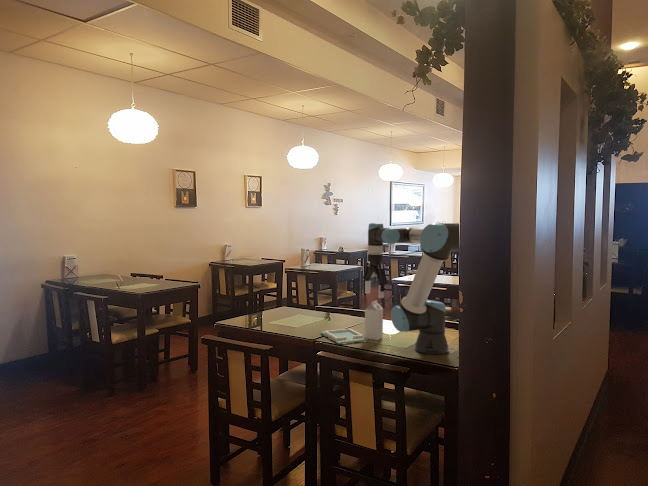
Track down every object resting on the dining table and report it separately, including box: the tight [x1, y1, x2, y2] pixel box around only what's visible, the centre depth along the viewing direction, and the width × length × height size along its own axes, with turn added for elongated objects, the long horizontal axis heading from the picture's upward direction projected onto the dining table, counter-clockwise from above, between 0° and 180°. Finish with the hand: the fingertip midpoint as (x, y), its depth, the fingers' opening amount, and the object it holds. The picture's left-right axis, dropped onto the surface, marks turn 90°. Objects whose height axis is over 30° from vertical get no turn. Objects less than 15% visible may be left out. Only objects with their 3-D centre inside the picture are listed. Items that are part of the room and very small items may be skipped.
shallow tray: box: [320, 328, 369, 345], centre depth 237 cm, size 22×16×2 cm
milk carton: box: [364, 299, 384, 341], centre depth 236 cm, size 7×7×19 cm
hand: (374, 295), depth 236 cm, fingers open, 13 cm apart
